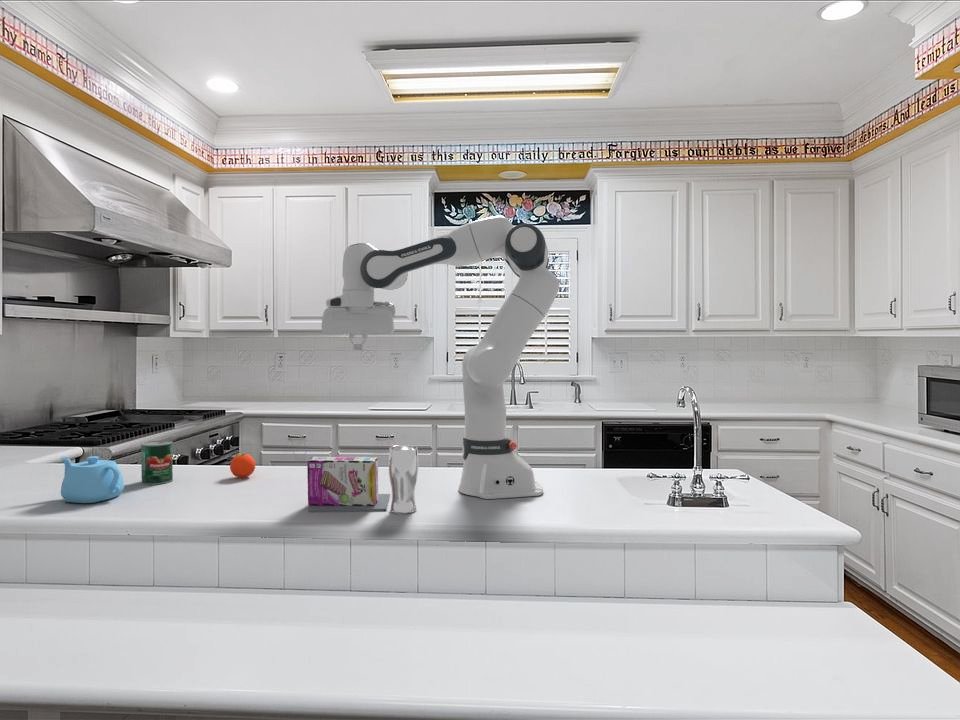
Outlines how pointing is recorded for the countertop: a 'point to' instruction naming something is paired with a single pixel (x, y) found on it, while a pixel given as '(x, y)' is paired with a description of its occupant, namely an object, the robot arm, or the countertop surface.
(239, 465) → the clementine
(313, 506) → the grey rubber mat
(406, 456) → the beer glass
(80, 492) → the teapot
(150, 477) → the canned tomato
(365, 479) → the candy bar box
